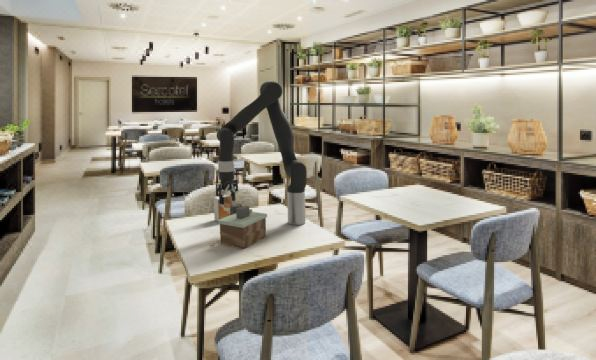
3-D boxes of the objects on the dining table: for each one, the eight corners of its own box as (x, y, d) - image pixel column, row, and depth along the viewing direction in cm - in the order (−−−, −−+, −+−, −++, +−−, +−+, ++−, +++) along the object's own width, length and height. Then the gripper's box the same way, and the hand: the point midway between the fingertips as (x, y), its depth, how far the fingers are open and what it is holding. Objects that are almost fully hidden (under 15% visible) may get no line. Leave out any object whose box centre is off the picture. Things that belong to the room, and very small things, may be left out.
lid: (243, 215, 208) (242, 201, 207) (267, 218, 202) (266, 204, 200) (218, 225, 192) (217, 210, 191) (243, 229, 185) (242, 214, 184)
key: (227, 208, 210) (227, 196, 209) (252, 212, 203) (252, 199, 201) (223, 210, 207) (223, 197, 206) (248, 214, 200) (248, 200, 199)
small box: (218, 222, 227) (217, 199, 225) (214, 220, 232) (213, 196, 230) (232, 220, 232) (231, 197, 229) (227, 217, 237) (226, 194, 234)
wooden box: (238, 232, 211) (237, 203, 208) (266, 237, 203) (265, 207, 200) (215, 243, 196) (213, 212, 193) (243, 248, 188) (242, 217, 185)
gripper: (223, 172, 196) (224, 206, 199) (241, 168, 208) (242, 200, 212) (210, 171, 200) (212, 204, 203) (229, 167, 212) (230, 198, 215)
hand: (227, 202), depth 207 cm, fingers open, 8 cm apart
